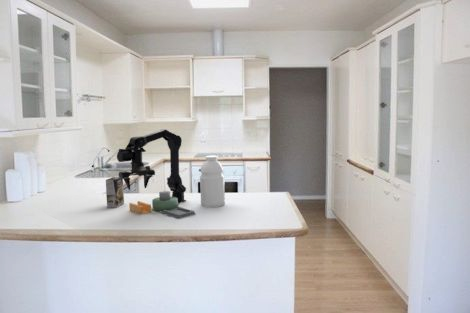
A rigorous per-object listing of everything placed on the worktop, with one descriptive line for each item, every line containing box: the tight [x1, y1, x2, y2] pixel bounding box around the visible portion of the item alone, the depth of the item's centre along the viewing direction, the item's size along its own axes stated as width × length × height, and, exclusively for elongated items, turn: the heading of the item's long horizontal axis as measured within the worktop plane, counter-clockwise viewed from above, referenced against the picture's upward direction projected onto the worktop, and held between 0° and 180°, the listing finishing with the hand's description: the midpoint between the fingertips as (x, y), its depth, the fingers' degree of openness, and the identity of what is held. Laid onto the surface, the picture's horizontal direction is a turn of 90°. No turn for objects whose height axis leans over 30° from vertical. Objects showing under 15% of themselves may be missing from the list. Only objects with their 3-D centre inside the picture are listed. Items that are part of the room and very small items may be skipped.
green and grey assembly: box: [151, 190, 196, 220], centre depth 210 cm, size 14×30×9 cm, turn 44°
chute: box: [128, 200, 152, 215], centre depth 210 cm, size 12×6×4 cm, turn 44°
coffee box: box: [105, 176, 125, 209], centre depth 223 cm, size 9×6×16 cm
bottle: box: [199, 155, 226, 208], centre depth 220 cm, size 14×14×28 cm
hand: (137, 189), depth 209 cm, fingers open, 9 cm apart
